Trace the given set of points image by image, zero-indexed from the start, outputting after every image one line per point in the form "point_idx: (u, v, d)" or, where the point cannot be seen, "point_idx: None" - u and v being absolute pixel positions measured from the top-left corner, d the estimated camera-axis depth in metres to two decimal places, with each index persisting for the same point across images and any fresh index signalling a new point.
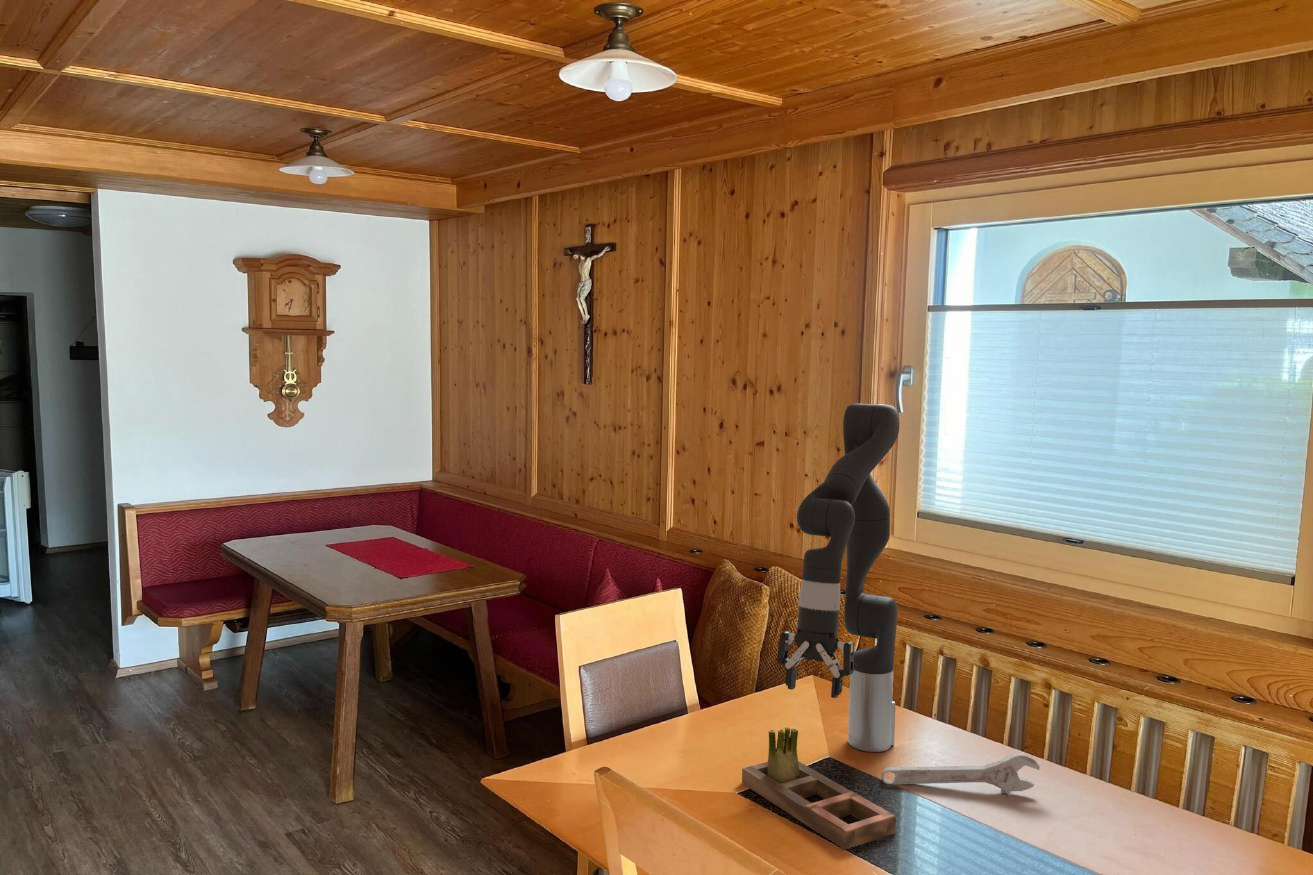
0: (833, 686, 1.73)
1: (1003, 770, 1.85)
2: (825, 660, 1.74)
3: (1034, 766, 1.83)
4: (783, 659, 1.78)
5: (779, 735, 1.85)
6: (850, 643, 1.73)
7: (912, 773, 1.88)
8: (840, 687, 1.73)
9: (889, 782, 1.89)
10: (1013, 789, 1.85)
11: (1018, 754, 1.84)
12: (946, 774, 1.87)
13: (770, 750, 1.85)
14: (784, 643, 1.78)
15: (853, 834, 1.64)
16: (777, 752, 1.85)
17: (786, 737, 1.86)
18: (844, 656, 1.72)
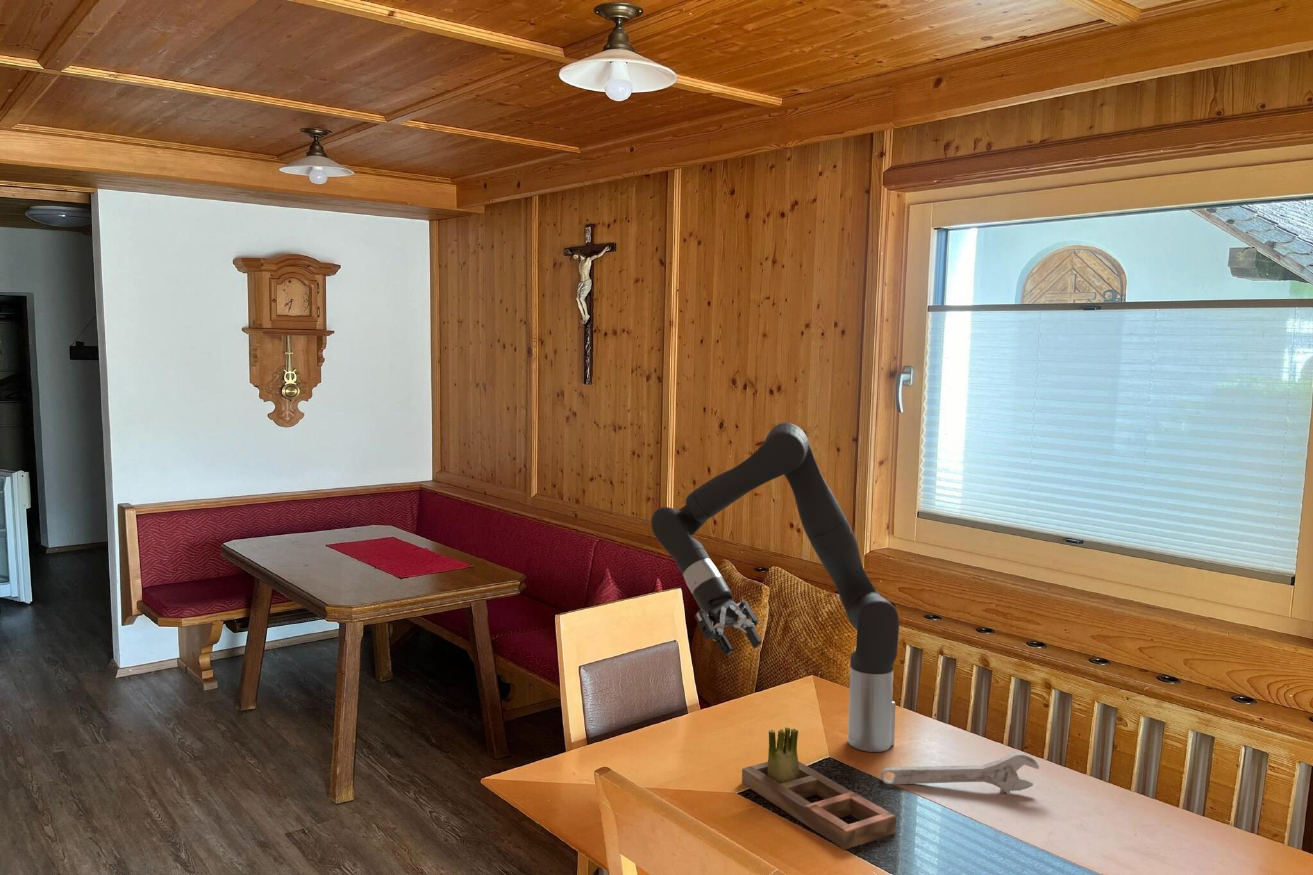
0: None
1: (1002, 769, 1.85)
2: None
3: (1033, 765, 1.84)
4: None
5: (779, 735, 1.85)
6: (697, 613, 1.98)
7: (912, 773, 1.88)
8: (720, 646, 1.94)
9: (889, 782, 1.89)
10: (1012, 788, 1.85)
11: (1017, 753, 1.85)
12: (946, 774, 1.87)
13: (770, 750, 1.85)
14: None
15: (853, 834, 1.64)
16: (778, 752, 1.85)
17: (786, 737, 1.86)
18: None
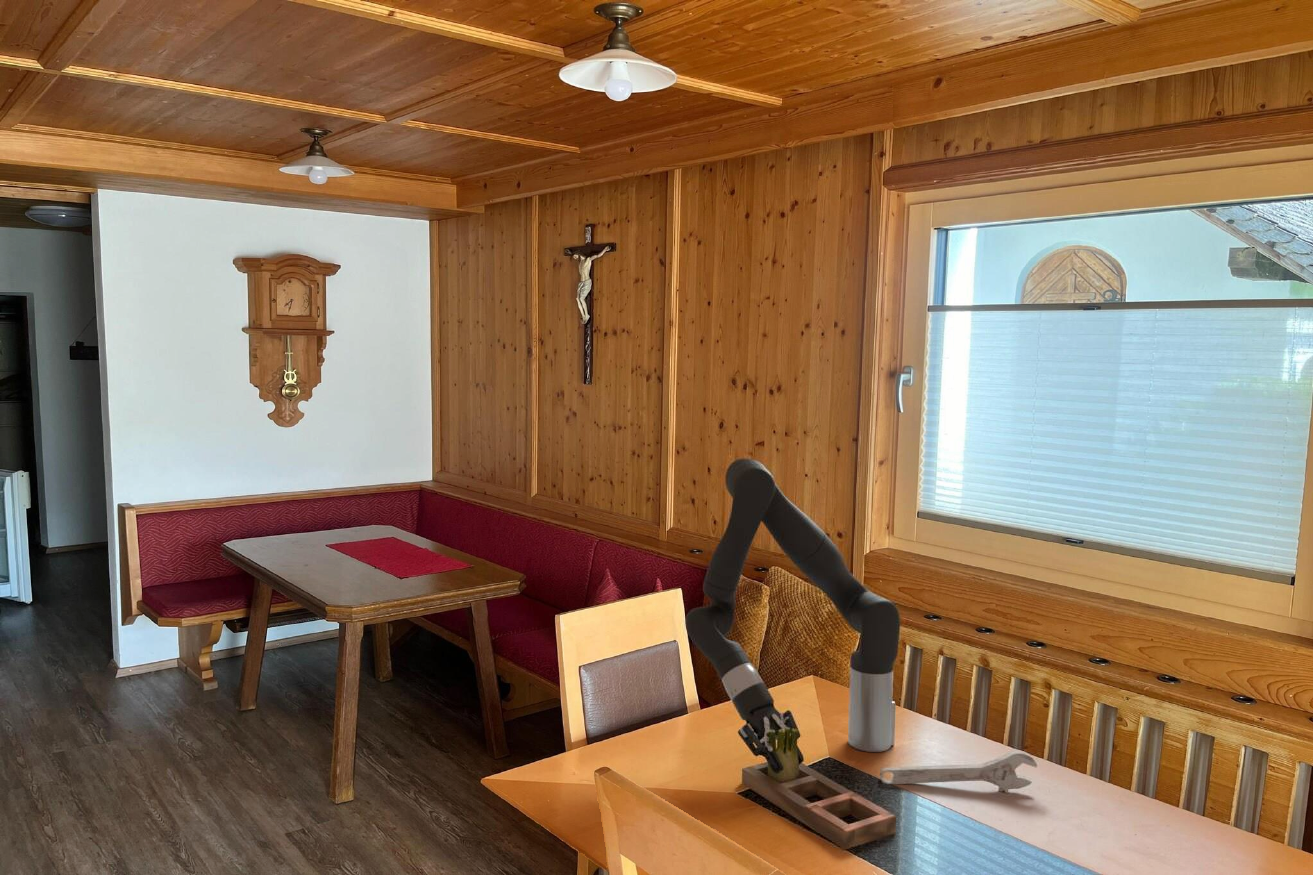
0: None
1: (1001, 768, 1.85)
2: (760, 740, 1.88)
3: (1032, 764, 1.84)
4: None
5: (779, 735, 1.85)
6: (740, 729, 1.86)
7: (911, 772, 1.89)
8: (770, 763, 1.84)
9: (888, 782, 1.89)
10: (1011, 787, 1.86)
11: (1016, 752, 1.85)
12: (944, 773, 1.87)
13: None
14: (783, 724, 1.93)
15: (853, 834, 1.64)
16: (778, 752, 1.85)
17: (786, 737, 1.86)
18: None
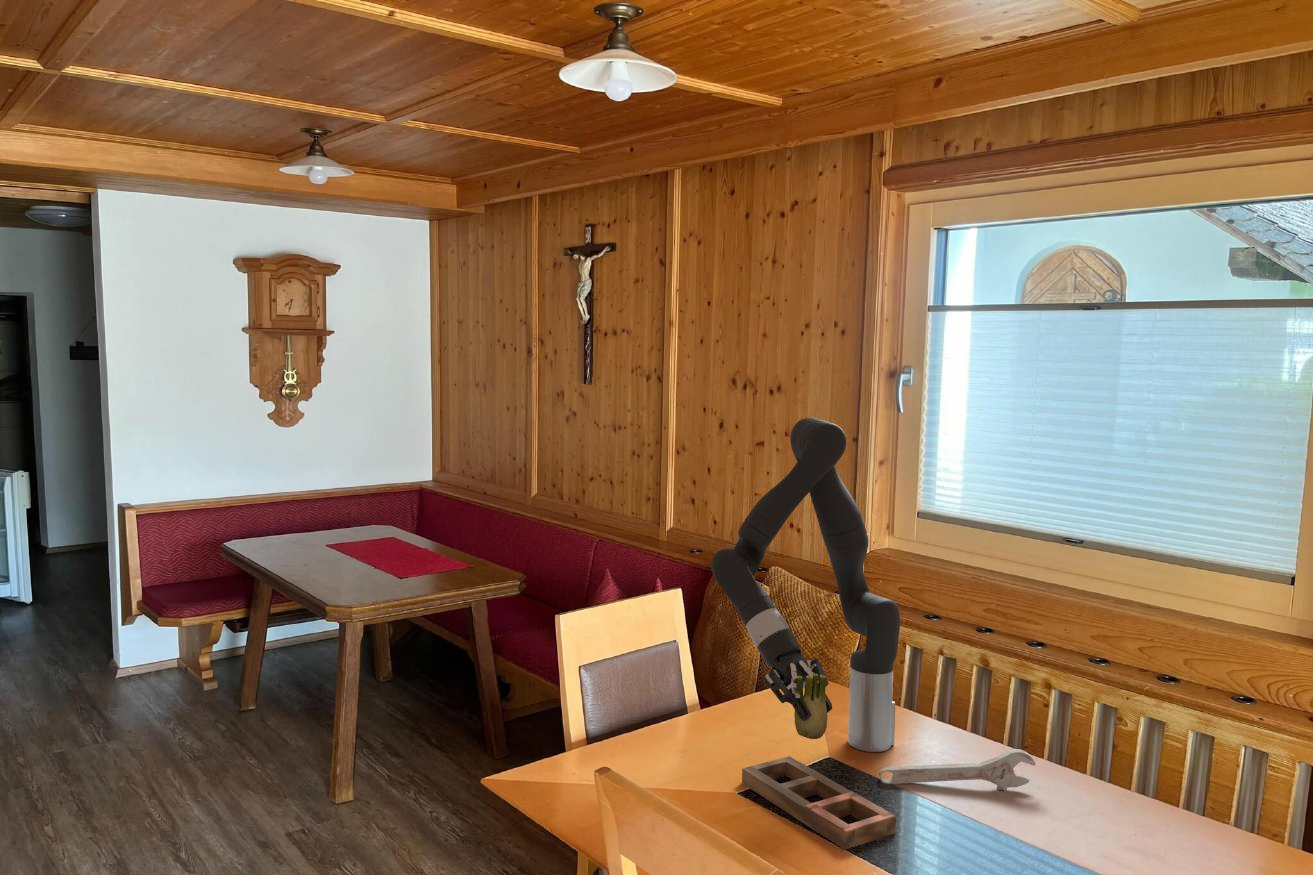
0: None
1: (999, 767, 1.86)
2: None
3: (1030, 762, 1.85)
4: None
5: (807, 681, 1.77)
6: (766, 675, 1.78)
7: (910, 772, 1.89)
8: (797, 710, 1.76)
9: (887, 782, 1.89)
10: (1009, 785, 1.86)
11: (1014, 750, 1.86)
12: (943, 772, 1.88)
13: None
14: None
15: (853, 834, 1.64)
16: (805, 699, 1.77)
17: (814, 683, 1.78)
18: None
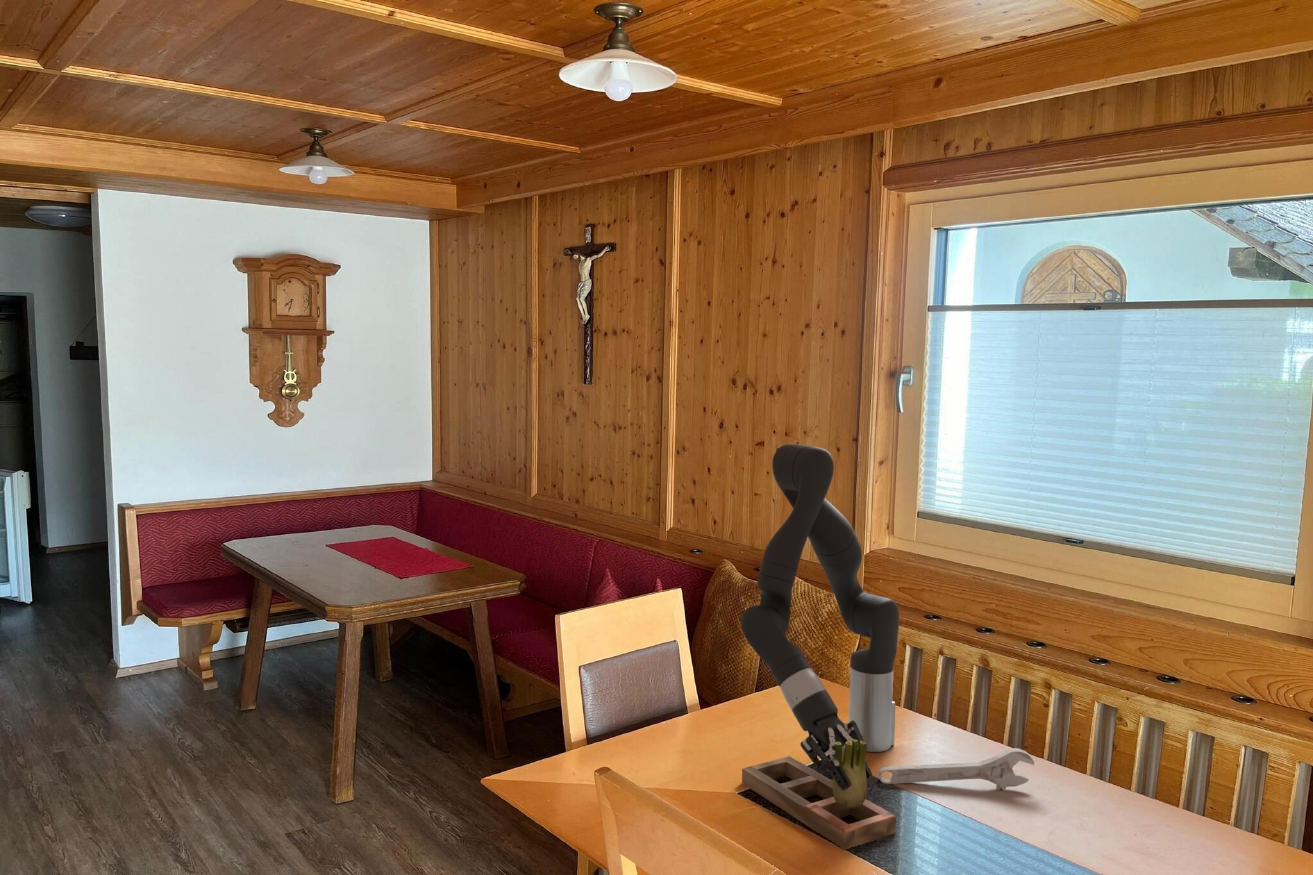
0: None
1: (999, 766, 1.86)
2: None
3: (1029, 761, 1.86)
4: None
5: (846, 748, 1.69)
6: (803, 741, 1.69)
7: (909, 772, 1.89)
8: (837, 779, 1.67)
9: (887, 782, 1.89)
10: (1008, 784, 1.87)
11: (1013, 750, 1.86)
12: (943, 772, 1.88)
13: None
14: None
15: (853, 834, 1.64)
16: (844, 766, 1.69)
17: (854, 750, 1.69)
18: None
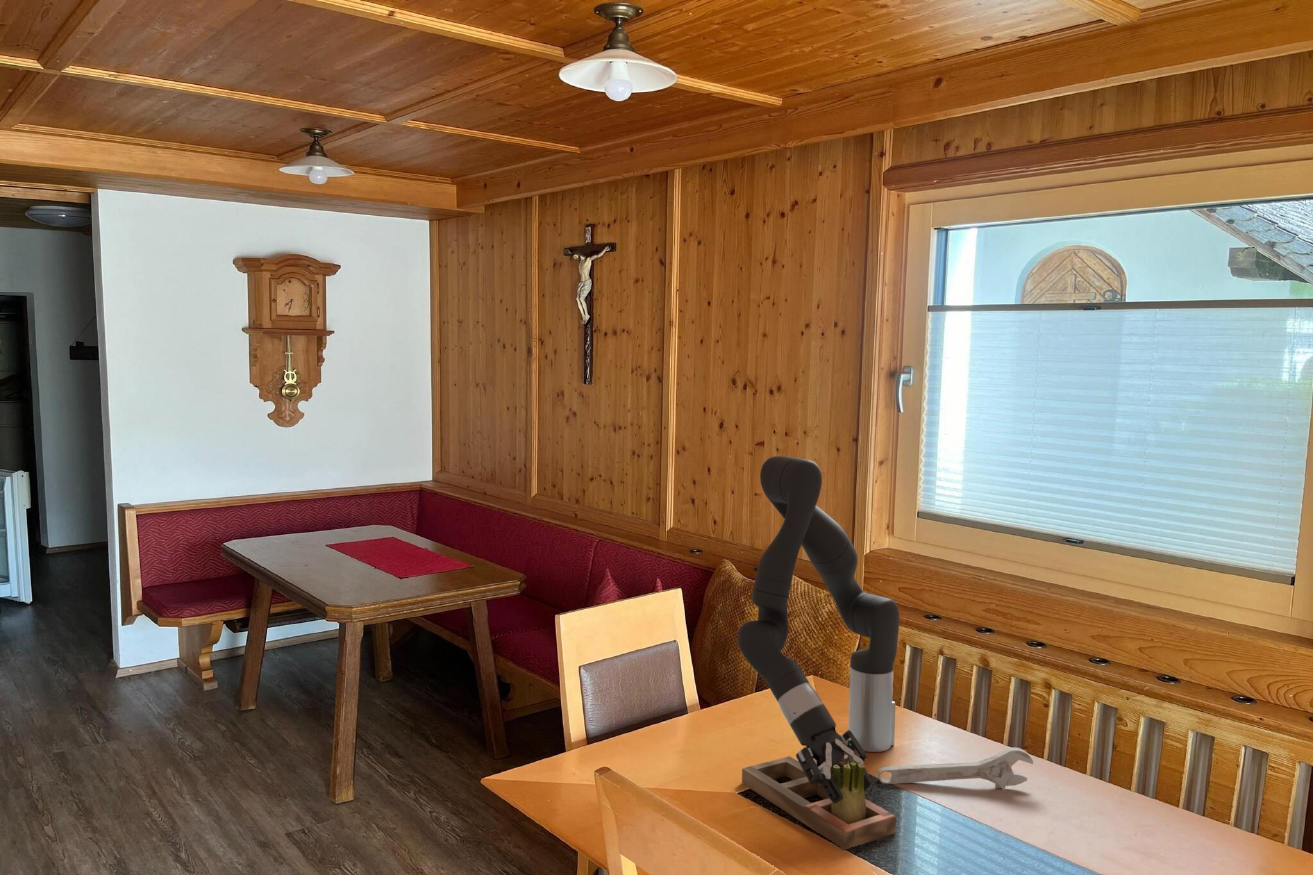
0: None
1: (998, 765, 1.87)
2: None
3: (1028, 760, 1.86)
4: None
5: (844, 771, 1.69)
6: (799, 752, 1.70)
7: (909, 772, 1.89)
8: (828, 792, 1.67)
9: (886, 782, 1.90)
10: (1007, 784, 1.87)
11: (1012, 749, 1.87)
12: (942, 771, 1.88)
13: None
14: None
15: (853, 834, 1.64)
16: (843, 789, 1.69)
17: (852, 773, 1.70)
18: None
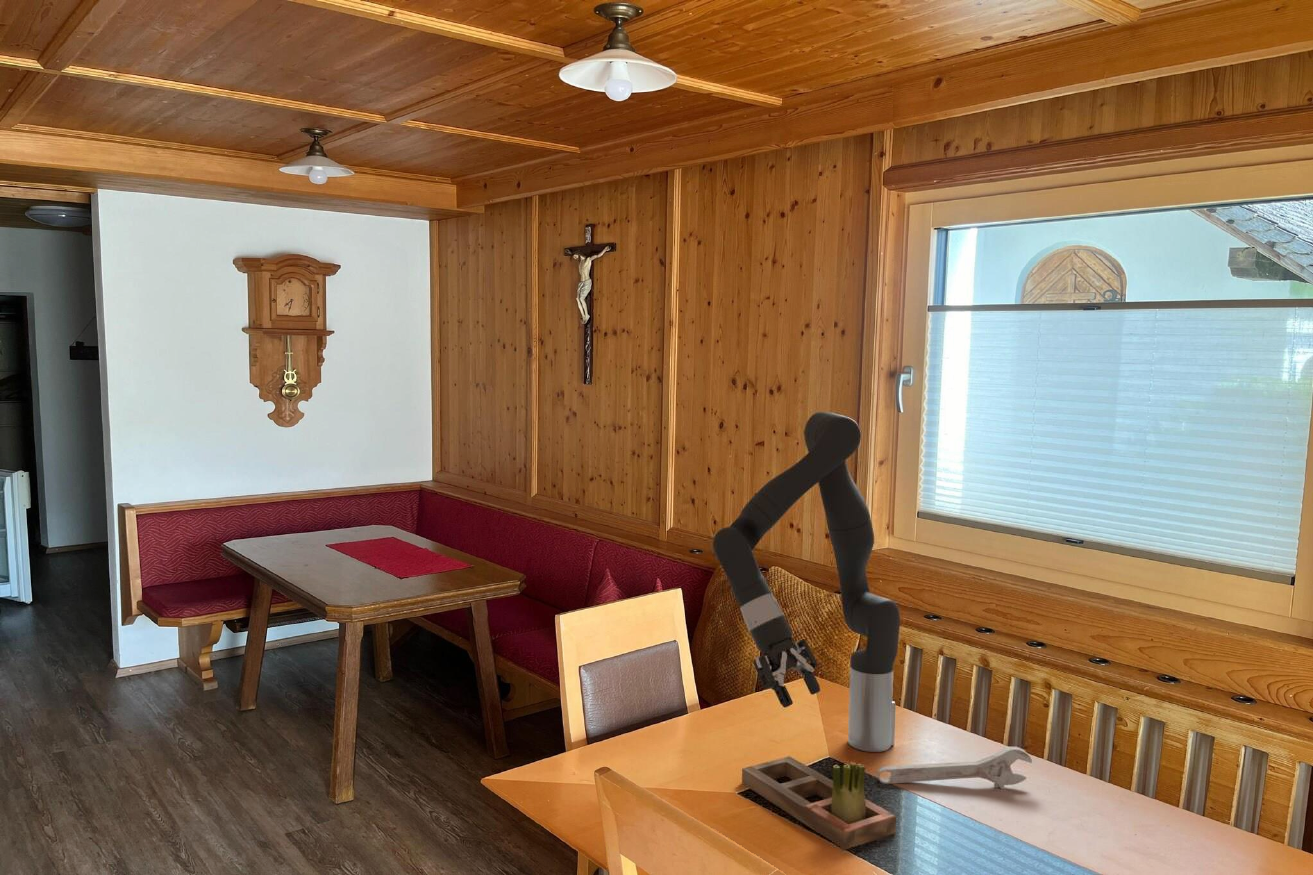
0: None
1: (997, 764, 1.87)
2: (773, 673, 1.84)
3: (1027, 759, 1.86)
4: None
5: (844, 771, 1.69)
6: (756, 659, 1.81)
7: (908, 771, 1.89)
8: (780, 697, 1.79)
9: (886, 782, 1.90)
10: (1006, 783, 1.87)
11: (1011, 748, 1.87)
12: (941, 771, 1.88)
13: (834, 787, 1.69)
14: (798, 652, 1.89)
15: (853, 834, 1.64)
16: (843, 789, 1.69)
17: (852, 773, 1.70)
18: None
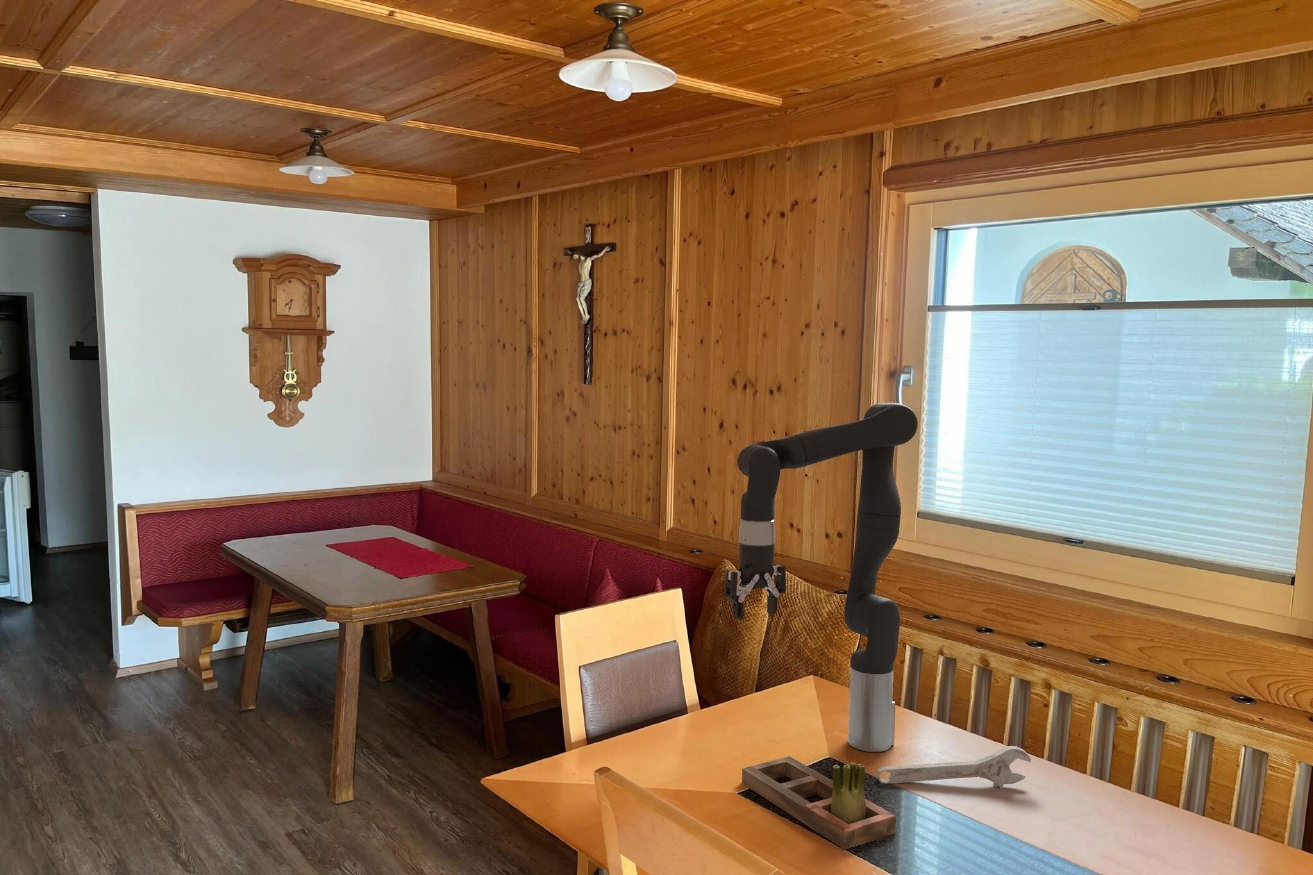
0: None
1: (996, 764, 1.87)
2: None
3: (1026, 759, 1.87)
4: None
5: (844, 771, 1.69)
6: (729, 571, 1.96)
7: (908, 771, 1.89)
8: (734, 609, 1.97)
9: (885, 782, 1.90)
10: (1005, 782, 1.88)
11: (1010, 747, 1.88)
12: (941, 771, 1.89)
13: (834, 787, 1.69)
14: None
15: (853, 834, 1.64)
16: (843, 789, 1.69)
17: (852, 773, 1.70)
18: None
